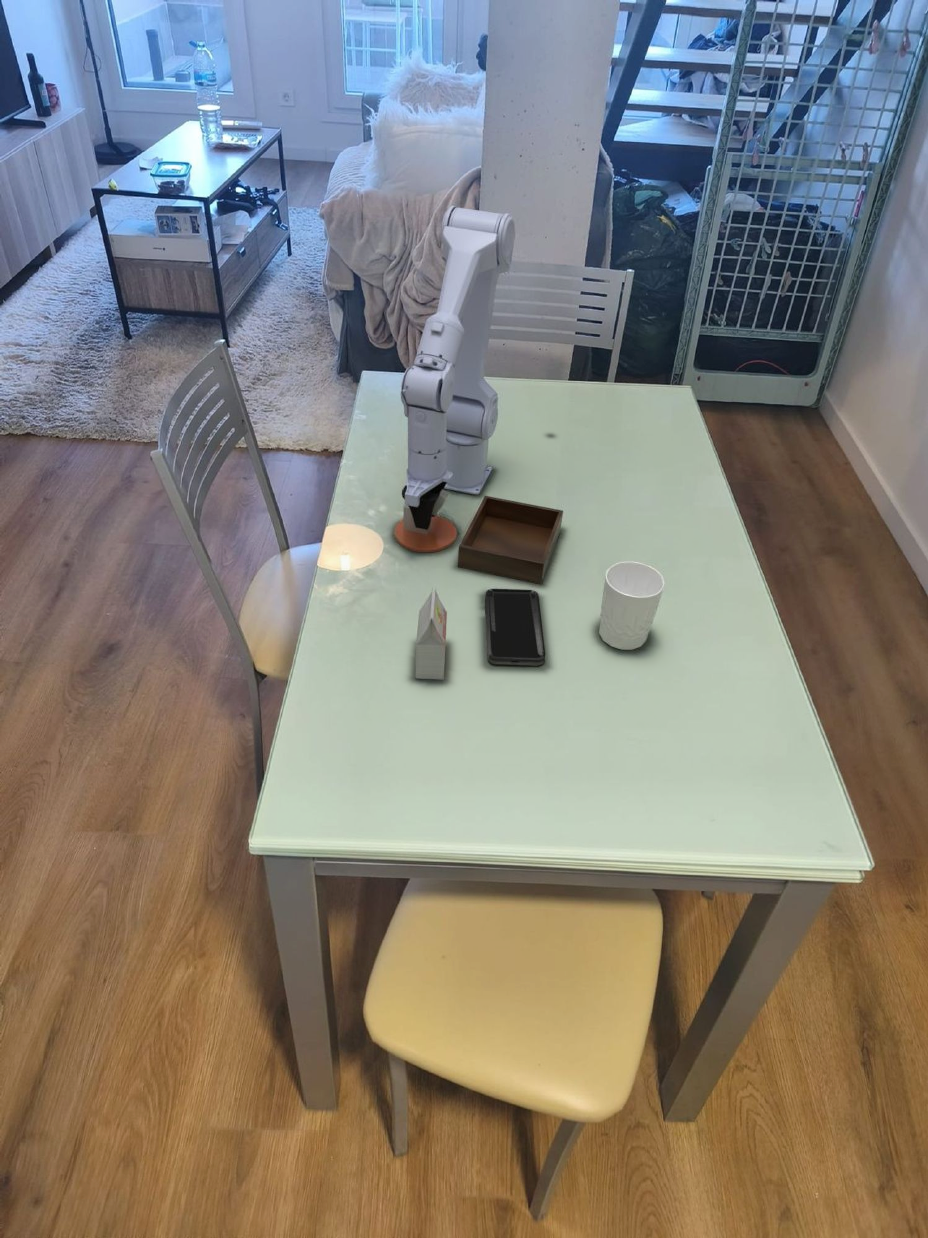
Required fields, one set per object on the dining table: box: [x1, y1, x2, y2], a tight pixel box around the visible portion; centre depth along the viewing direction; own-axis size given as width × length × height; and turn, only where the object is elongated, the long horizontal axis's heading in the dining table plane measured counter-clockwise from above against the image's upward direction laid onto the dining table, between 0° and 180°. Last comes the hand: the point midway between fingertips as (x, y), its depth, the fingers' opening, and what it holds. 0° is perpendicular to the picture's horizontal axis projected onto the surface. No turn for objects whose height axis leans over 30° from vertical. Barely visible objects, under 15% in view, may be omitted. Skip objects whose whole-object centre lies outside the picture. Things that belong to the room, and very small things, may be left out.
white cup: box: [598, 560, 666, 651], centre depth 113 cm, size 8×8×10 cm
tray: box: [457, 495, 564, 585], centre depth 130 cm, size 15×13×4 cm
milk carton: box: [415, 588, 448, 681], centre depth 107 cm, size 4×7×10 cm, turn 179°
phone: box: [484, 588, 546, 667], centre depth 116 cm, size 8×1×15 cm
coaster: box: [394, 515, 458, 553], centre depth 133 cm, size 10×10×1 cm
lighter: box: [403, 489, 450, 535], centre depth 130 cm, size 7×2×8 cm, turn 74°
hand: (425, 521), depth 131 cm, fingers open, 3 cm apart
